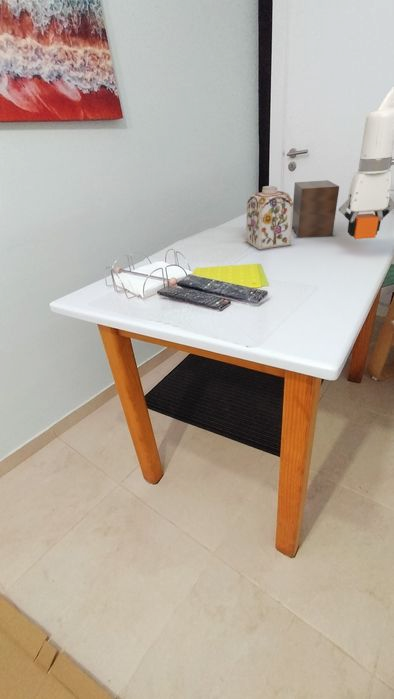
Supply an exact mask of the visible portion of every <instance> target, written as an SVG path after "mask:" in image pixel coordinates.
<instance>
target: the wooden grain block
mask: <svg viewBox="0 0 394 699" xmlns="http://www.w3.org/2000/svg"><path fill="white" fill-rule="evenodd" d="M339 192H340V186H339V185H338V184H336V183H334V182H332V181H330V180H328V179H327V180H326V179H325V180H312V181H295V182H294V188H293V199H292V202H293V218H292V230H294V232H295V234H296V237H297V238H316V237H318V238H319V237H333V234H334V227H335V222H336V221H335V220H336V213H337V206H338V199H339Z"/></svg>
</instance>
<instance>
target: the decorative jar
mask: <svg viewBox="0 0 394 699" xmlns="http://www.w3.org/2000/svg"><path fill="white" fill-rule="evenodd" d="M292 218H293V199H292V198H291V196H290V194H289V193H288V192H286V191H279V190H278V186H276V185H266V186H262V189H261V191H260V192H255V193H253V194H251V195H250V197H249V199H248V200H247V202H246V233H245V235H246V242H247V243H248V244H249V245H251V246H252V247H254V248H256V249H258V250H259V251H260V250H267V249H275V248H279V247H287V246H291V241H292V230H293V227H292Z"/></svg>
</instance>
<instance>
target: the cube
mask: <svg viewBox="0 0 394 699" xmlns="http://www.w3.org/2000/svg"><path fill="white" fill-rule="evenodd" d="M378 221H379V217H377V216H376V215H375V213H360V214H359V213H358V215H357V217H356V219H355V223H356V226H355V233H354V236H352V238H353V239H354V240H362V239H375V238H376V237H377V235H376V231H377V226H378ZM377 232H378V231H377Z"/></svg>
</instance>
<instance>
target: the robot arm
mask: <svg viewBox="0 0 394 699" xmlns="http://www.w3.org/2000/svg"><path fill="white" fill-rule="evenodd" d="M393 151H394V85H393V86H392V87H391V88H390V89H389V91H388V92H387V93H386V95H385V96H384V98H383V99H382V100H381V102H380V104H379V105H378V107H377V109H376V110H373V111H371V112H369V113H368V114H367V116H366V118H365V123H364V129H363V137H362V143H361V150H360V158H359V162H358V163H359V164H358V171H355V172H354V174H353V176H352V179H351V183H350V186H349V192H348V196H347V199H346V200H345V202H344V203H343V204H341V206H340V207H339V208H338V211H339V212H340V213H341V214H342V215H343V216H344V217H345V219H347V220H348V225H347V233H348V235H349V236H350V237H352V236H354V233H355V226H356V223H355V219H356V217H357V215H358V214H359V213H363V212H365V213H366V212H374V215H376V216H377V217H379V221H378V226H377V231H376V236H377V235H378V232H379V231H380V227H381V221H383V220H384V218H386V216H387V215H388V214H390V212H392V211H393V210H394V200H393V199H392V197H391V192H392V191H391V189H392V170H390V169H391V167H392V166H393V165H394V158H393V153H394V152H393ZM347 209H349V210H350V212H349V211H347ZM352 238H353V237H352Z"/></svg>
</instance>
